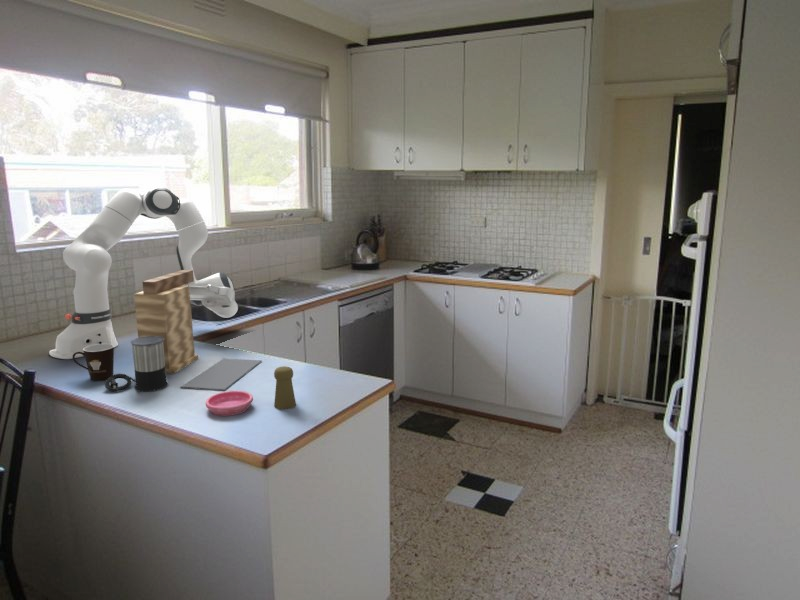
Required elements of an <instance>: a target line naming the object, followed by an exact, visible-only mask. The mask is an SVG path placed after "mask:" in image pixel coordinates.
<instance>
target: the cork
mask: <svg viewBox="0 0 800 600" xmlns="http://www.w3.org/2000/svg"><path fill="white" fill-rule="evenodd" d="M273 374H274V375H273V376H274V379H275V380H276V381H275V390H274V391H275V392H274V402H273V403H274V404H273V405H274V407H273V408H274V409H277V410H290V409H293V408H295V407H296V406H297V403H296V397H295V391H294V387H293V386H294V385H293V381H292V379H293V377H294V370H293V368H292V367H290V366H279V367H277V368H275V370H274V371H273Z"/></svg>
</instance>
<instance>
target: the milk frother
mask: <svg viewBox="0 0 800 600" xmlns="http://www.w3.org/2000/svg"><path fill="white" fill-rule="evenodd" d="M163 341H164V338H162V337H158V336H148V337H141V338H138V337H137V338H134V339H132V340H131V341H130V344H131V347H132V349H131V350H132V358H133V367H134V375H135V377H134V378H135V379H134V378H132V377H131V376H130V375H127V374H125V373H116V374H115V373H114V374H113V375H112V376H111V377H109V378H108V379H107V380H105V382H104V387H105V389H106V390H108V391H111V392H120V391H123V390H127V389H129V388H130V386H131V384H132V381H133V382H134V383H135V386H134V389H135V390H136V391H137V392H143V393H144V392H149V393H150V392H156V391H160V390H163V389H165V388H166V387H168V385H169V383H168V379H167V378H168V377H167V373H166V369H165V358H164V346H163ZM117 379H123V380H125V381H126V384H124V385H122V386H119V383H118V382H117V381H116V380H117Z"/></svg>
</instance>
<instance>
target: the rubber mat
mask: <svg viewBox="0 0 800 600" xmlns="http://www.w3.org/2000/svg"><path fill="white" fill-rule="evenodd" d="M261 363H262V360H260V359H244V358H241V359H239V358H222V359H220V360H219V361H217V362H216V363H214V364H213V365H211V366H210V367H208V368H207V369H205V370H204V371H202V372H201V373H200V374H198V375H196V376H195V377H193V378H191V379H190V380H188V381H187V382H186V383H183V384H182V385H181V386H180V389H188V390H189V389H190V390H191V389H192V390H204V391H205V390H206V391H217V392H218V391H221V392H222V391H223V392H226V391H227V390H228V389H229V388H231V387H232V386H233V385H234V384H235V383H237V382H238V381H239V380H241V377H242V376H243V375H244V376H246V375H247V374H248V373H249V372H251V371H252V370H253V369H255V368H256V367H257V366H258V365H260V364H261ZM255 366H256V367H255ZM251 369H252V370H251ZM250 370H251V371H250ZM247 372H248V373H247ZM246 373H247V374H246ZM244 376H243V377H244ZM238 379H239V380H238ZM237 380H238V381H237ZM232 384H233V385H232Z"/></svg>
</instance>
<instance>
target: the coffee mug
mask: <svg viewBox="0 0 800 600" xmlns="http://www.w3.org/2000/svg"><path fill="white" fill-rule="evenodd" d="M114 351H115V347H114V345H112V344H96V345H91V346H87V347H85V348H84V349H83V352H84V353H83V352H76V353H74V354H73V358H72V360H73V362H74V363H75V364H76V365H78V366H79V367H81V368H83V369H84V370H87V372H88V374H89V378H90V381H91V382H103V381H105V382H106V380H107V379H108V378H109V377H111V376H112V375H114V364H115V363H114V362H115V361H114V360H115V358H114V357H115V356H114V354H115V352H114ZM76 354H82V355H83V356H82V357H84V359H85V362H86V366H85V365H83V364H81V363H79V362H78V361H77V360H76V358H75V355H76Z"/></svg>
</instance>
